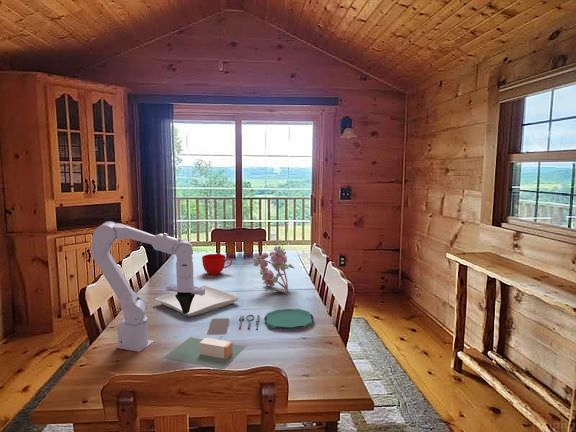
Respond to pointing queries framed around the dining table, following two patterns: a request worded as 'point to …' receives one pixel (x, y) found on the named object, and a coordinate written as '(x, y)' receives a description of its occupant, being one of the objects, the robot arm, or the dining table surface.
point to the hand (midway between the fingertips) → (186, 312)
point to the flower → (277, 263)
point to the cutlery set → (284, 319)
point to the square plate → (200, 301)
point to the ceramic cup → (214, 263)
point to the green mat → (191, 354)
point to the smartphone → (218, 326)
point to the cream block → (216, 348)
